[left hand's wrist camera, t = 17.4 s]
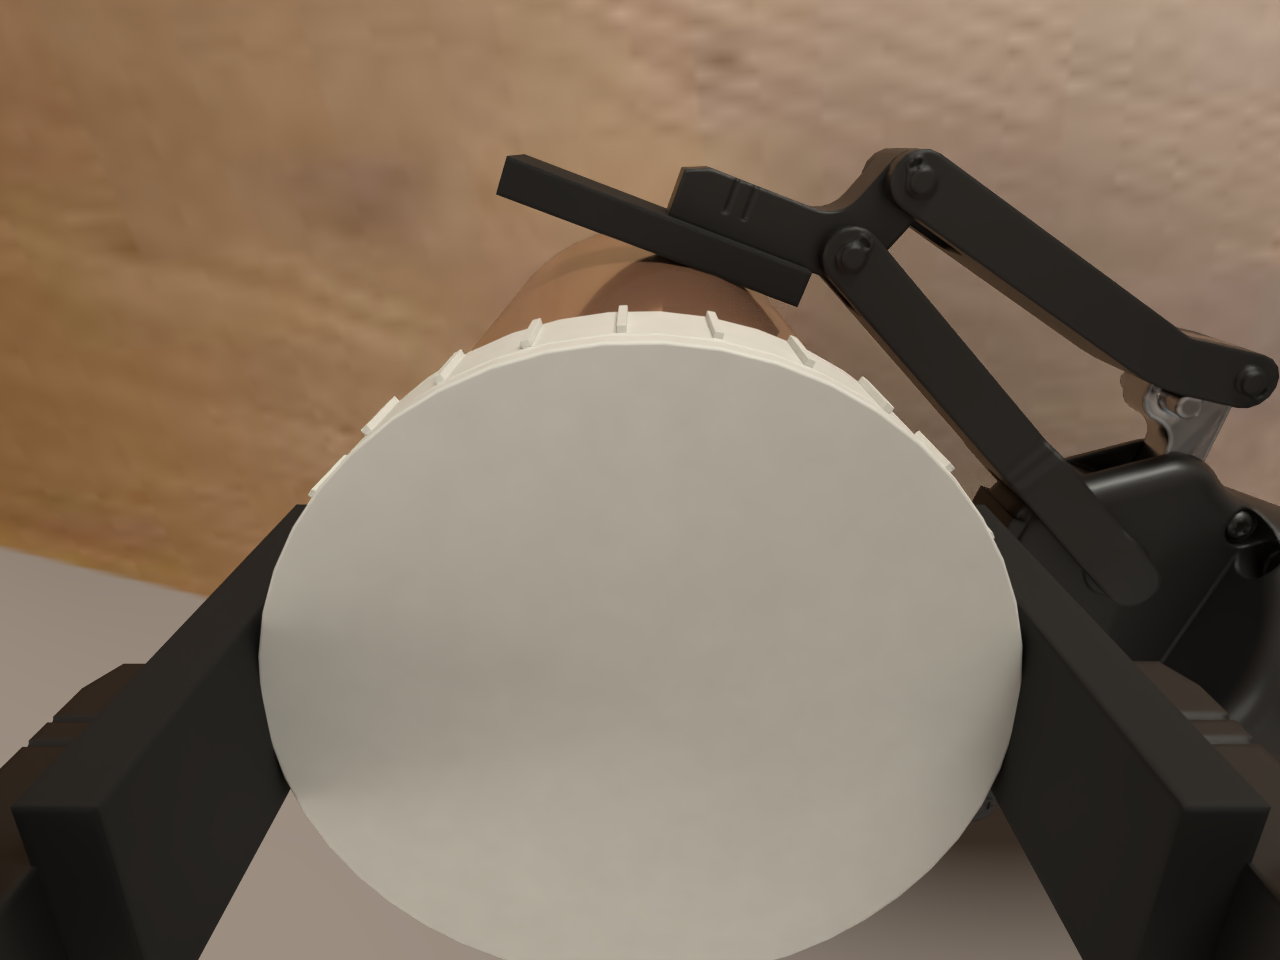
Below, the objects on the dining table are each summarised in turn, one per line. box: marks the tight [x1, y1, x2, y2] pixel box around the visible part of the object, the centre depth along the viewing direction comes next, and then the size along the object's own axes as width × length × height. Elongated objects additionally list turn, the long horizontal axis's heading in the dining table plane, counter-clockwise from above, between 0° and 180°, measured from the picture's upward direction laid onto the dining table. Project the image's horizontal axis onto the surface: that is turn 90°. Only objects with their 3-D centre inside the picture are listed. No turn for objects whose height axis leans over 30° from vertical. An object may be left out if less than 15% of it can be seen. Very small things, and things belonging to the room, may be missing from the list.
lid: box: [258, 305, 1022, 960], centre depth 11 cm, size 10×10×2 cm
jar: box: [472, 234, 809, 351], centre depth 18 cm, size 9×9×15 cm
